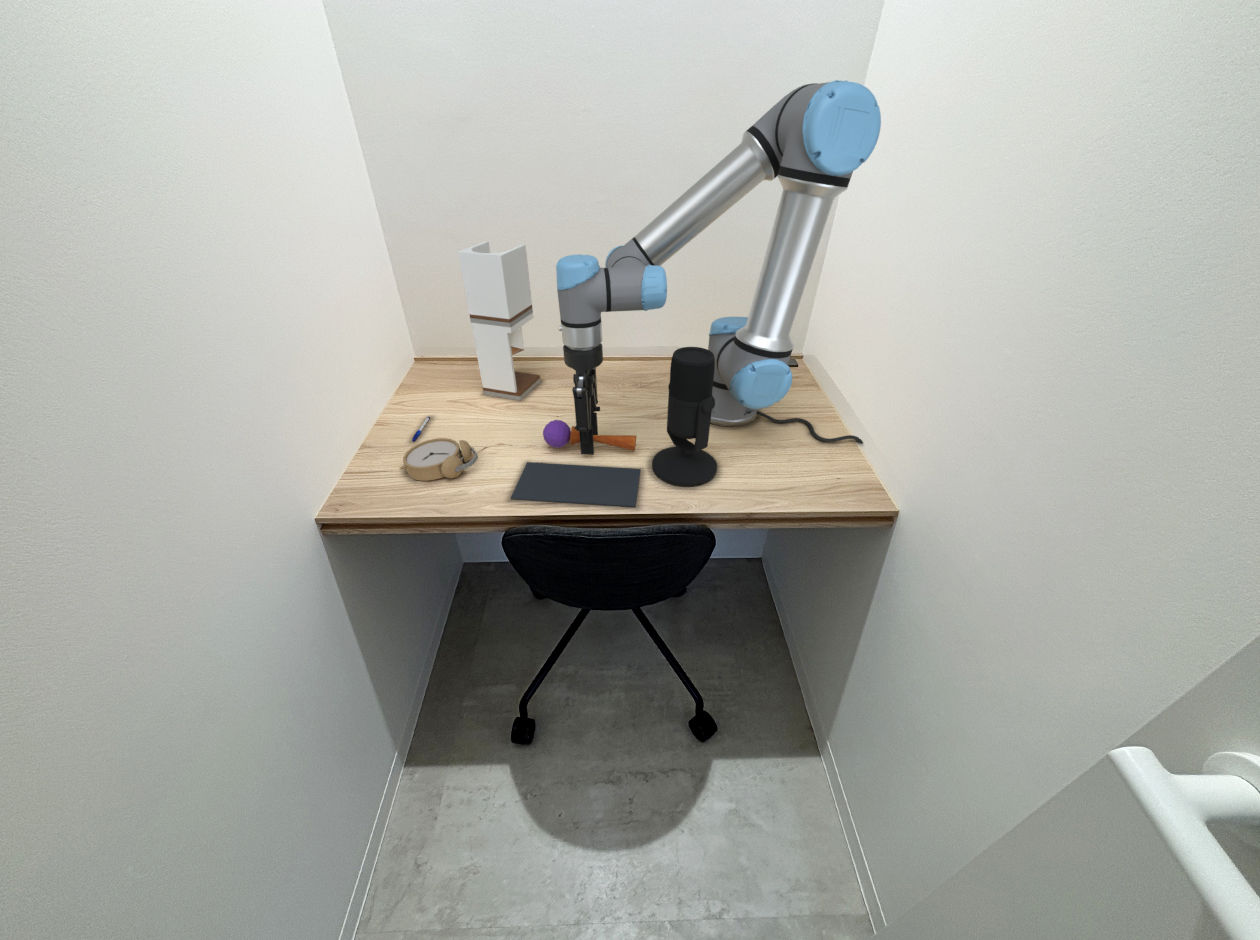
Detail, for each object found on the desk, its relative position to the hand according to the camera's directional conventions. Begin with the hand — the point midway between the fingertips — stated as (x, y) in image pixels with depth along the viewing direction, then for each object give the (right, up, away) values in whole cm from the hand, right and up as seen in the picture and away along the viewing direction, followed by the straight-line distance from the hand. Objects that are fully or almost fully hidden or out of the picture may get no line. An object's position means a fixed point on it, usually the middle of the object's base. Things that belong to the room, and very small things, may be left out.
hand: (589, 445), depth 109 cm
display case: (-23, +17, +25) cm, 38 cm away
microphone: (+20, -5, -4) cm, 21 cm away
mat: (-2, -8, -9) cm, 12 cm away
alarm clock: (-30, -5, -4) cm, 31 cm away
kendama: (0, 0, 0) cm, 1 cm away
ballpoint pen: (-40, +4, +8) cm, 41 cm away
